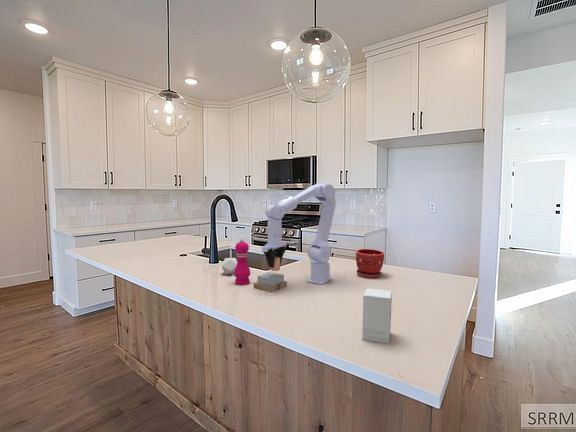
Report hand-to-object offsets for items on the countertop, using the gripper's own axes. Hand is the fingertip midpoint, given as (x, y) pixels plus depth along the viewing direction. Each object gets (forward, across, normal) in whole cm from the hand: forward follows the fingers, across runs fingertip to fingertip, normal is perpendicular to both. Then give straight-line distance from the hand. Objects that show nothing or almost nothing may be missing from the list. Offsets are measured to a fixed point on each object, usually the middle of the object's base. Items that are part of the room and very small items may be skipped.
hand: (274, 266), depth 131 cm
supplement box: (+10, +19, +49) cm, 54 cm away
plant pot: (+10, -41, +27) cm, 50 cm away
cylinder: (+1, 0, 0) cm, 1 cm away
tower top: (+7, 0, -2) cm, 8 cm away
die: (+10, -6, -31) cm, 33 cm away
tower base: (+10, 0, -2) cm, 11 cm away
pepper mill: (+10, +2, -16) cm, 19 cm away
